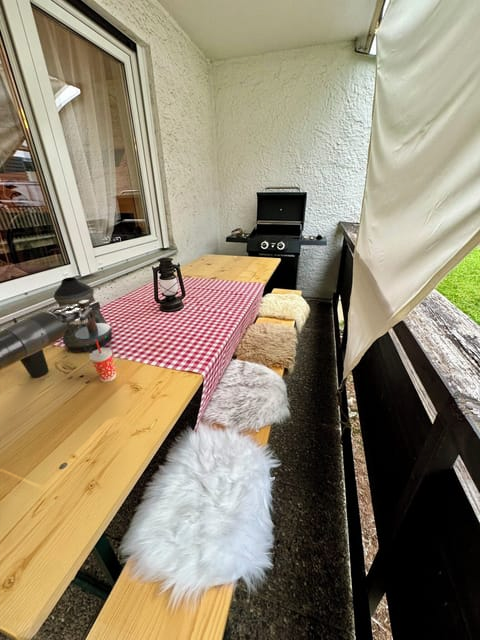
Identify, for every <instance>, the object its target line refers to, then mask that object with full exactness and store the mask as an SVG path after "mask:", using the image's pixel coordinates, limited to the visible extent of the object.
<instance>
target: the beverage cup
mask: <svg viewBox="0 0 480 640" xmlns="http://www.w3.org/2000/svg"><path fill="white" fill-rule="evenodd" d="M95 341H96V344H97V347H98V349H97V350H94V351H91V353H90V354H89V356H88V357H89V359H90V361H91V362H92V364H93V367H94V368H95V371H96V373H97V375H98V378H99V380H100V382H102V383H108V382H111V381H113V380H115V379H116V377H117V372H116V367H115V364H114V363H115V362H114V359H113V350H112V349H111V348H109V347H108V348H107V347H101V348H100V347H99V344H98V341H97V339H95Z"/></svg>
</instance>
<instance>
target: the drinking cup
mask: <svg viewBox="0 0 480 640" xmlns="http://www.w3.org/2000/svg"><path fill="white" fill-rule="evenodd" d="M12 321H13V324H14V323H17V322H18V321H17V318H16V317H13V318H12ZM19 362H20V363H21V364H22V365H23V367H24V368H25V370H26V371H27V373H28V374H29V376H30V377H31V378H33V379H37V378H41V377H43V376H45V375H46V374H48V373H49V372H50V369H49V366H48V363H47V359H46V356H45V353H44V348H43V349H42V350H40V351H38V352H36V353H34V354H32V355H29V356H27V357H25V358H23V359H21V360H20V361H19Z"/></svg>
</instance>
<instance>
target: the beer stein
mask: <svg viewBox="0 0 480 640" xmlns="http://www.w3.org/2000/svg"><path fill="white" fill-rule="evenodd" d="M94 294H95V289H94V287H92V286H91V285H88V284H86V283H85V282H82V281H79V280H78V279H77V278H76V277H72V276H71V277H65V278H63V279H62V280H61V282H60V285H59V287H58V288H57V289H56V290H55V292H54V294H53V299H54V300H55V302H56V303H57V304H58V307H61V306H65V305H70V306H72V305H78V304H79V301H82V300H90V301H91V303H93V302H95V301H96V299H95V297H94ZM100 309H101V308H100ZM100 309H98V310H96V311H95V312H93V314H94V319H95V322H96V323H105V324H108V323H107V321H106V319H105V318H104V316H103V314H102V311H101V310H100ZM81 328H83V327H82V324H76V325H75V326H74V327H72V328H69V329H66V331H65V334H64V336H63V338H62V342H63V345H65V347H66V349H67V351H70V352H71V353H74V354H82V353H83V354H85V353H89V352H94V351H96V349H97V350H98V347H97V344H96V341H95V339H94V340H88V341H82V340H78V339H77V338H76V336H75V333H76V332H77V331H78V330H79V329H81ZM112 331H113V329H112V328H111V330H110V332H109V333H108V334H106V335H105V336H103V337H101V338H98V339H97V341H98V344H99V347H100V349H102V348H104V347H106V346H107V345H108V344H109V343H110V342H111V341H112V338H113V337H112V336H113V334H112V333H113V332H112ZM109 341H110V342H109ZM108 342H109V343H108ZM107 343H108V344H107ZM106 344H107V345H106ZM105 345H106V346H105Z"/></svg>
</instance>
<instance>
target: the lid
mask: <svg viewBox="0 0 480 640" xmlns="http://www.w3.org/2000/svg"><path fill="white" fill-rule="evenodd" d="M89 304H90V303H89V300H82V301H79V305H80V308H83V307H85V306H87V305H89ZM84 312H85V311H82V314H83V313H84ZM111 329H112V327H111V325H110V324H108V323H107V324H105V323H96V322H95V319H94V318H93V319H92V320H91V322H90V323H89V324H88V326H86V327H83V328H81V329H79V330H78V331H77V332H76V333H75V336H76V338H77V339H78V340H82V341H88V340H94V339H98V338H101V337H103V336H105V335H106V334H108V333H109V332H110V330H111Z"/></svg>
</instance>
